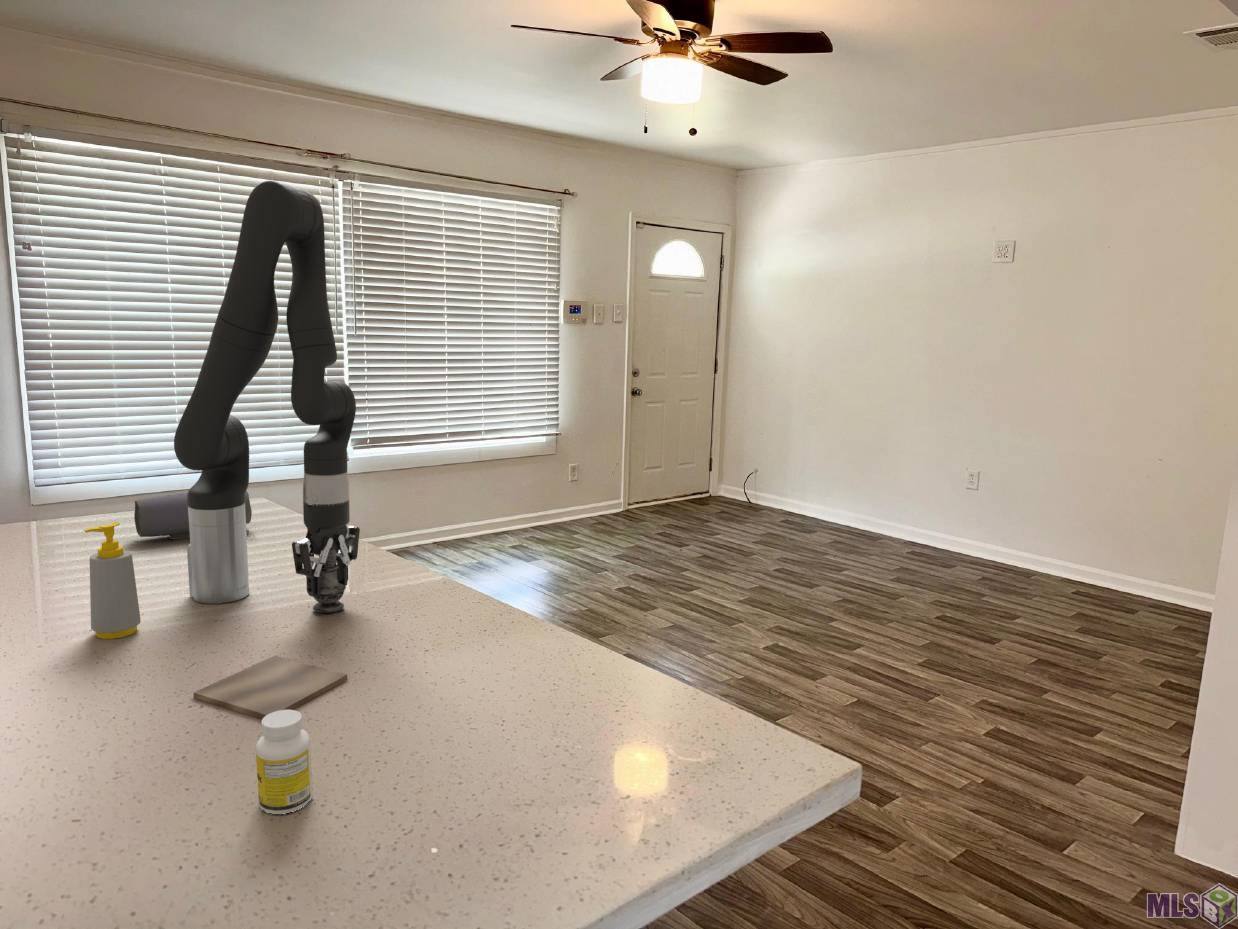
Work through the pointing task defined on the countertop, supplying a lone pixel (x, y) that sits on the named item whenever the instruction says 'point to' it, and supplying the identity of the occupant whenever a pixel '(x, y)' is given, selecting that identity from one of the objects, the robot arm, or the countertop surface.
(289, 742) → the supplement bottle
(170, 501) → the bluetooth speaker
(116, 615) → the soap bottle
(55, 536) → the countertop surface
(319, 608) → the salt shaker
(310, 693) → the walnut pad
